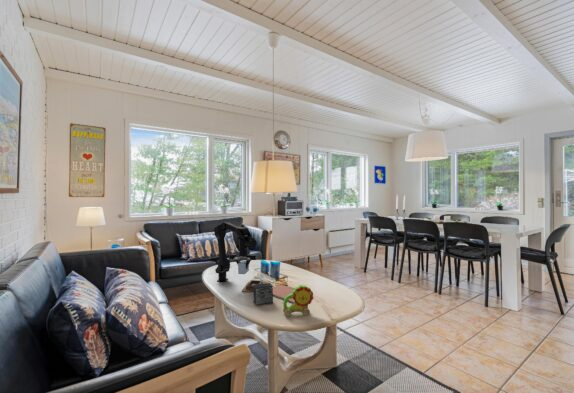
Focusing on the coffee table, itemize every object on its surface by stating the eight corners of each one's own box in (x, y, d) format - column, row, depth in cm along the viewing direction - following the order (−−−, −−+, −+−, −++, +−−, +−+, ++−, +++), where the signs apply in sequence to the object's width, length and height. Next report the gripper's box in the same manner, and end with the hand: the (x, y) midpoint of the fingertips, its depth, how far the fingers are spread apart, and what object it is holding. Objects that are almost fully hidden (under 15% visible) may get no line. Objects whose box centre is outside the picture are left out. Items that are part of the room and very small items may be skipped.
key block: (238, 274, 193) (238, 263, 192) (242, 270, 201) (242, 260, 201) (244, 274, 192) (244, 263, 192) (248, 270, 201) (248, 260, 200)
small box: (270, 299, 174) (270, 282, 174) (273, 303, 168) (273, 285, 168) (253, 301, 171) (252, 284, 170) (255, 306, 165) (255, 287, 164)
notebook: (312, 297, 179) (312, 294, 178) (293, 305, 167) (293, 301, 167) (282, 287, 198) (282, 284, 198) (263, 293, 186) (263, 290, 186)
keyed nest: (248, 283, 205) (248, 278, 205) (266, 283, 204) (266, 279, 204) (241, 292, 187) (241, 287, 187) (261, 292, 186) (261, 288, 186)
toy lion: (284, 317, 149) (284, 288, 149) (282, 313, 155) (282, 285, 154) (314, 315, 152) (314, 286, 151) (311, 311, 157) (311, 283, 157)
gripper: (259, 244, 202) (260, 266, 203) (234, 243, 206) (234, 265, 206) (255, 247, 191) (255, 271, 192) (228, 246, 195) (228, 270, 195)
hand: (243, 269), depth 196 cm, fingers closed on key block, 4 cm apart
